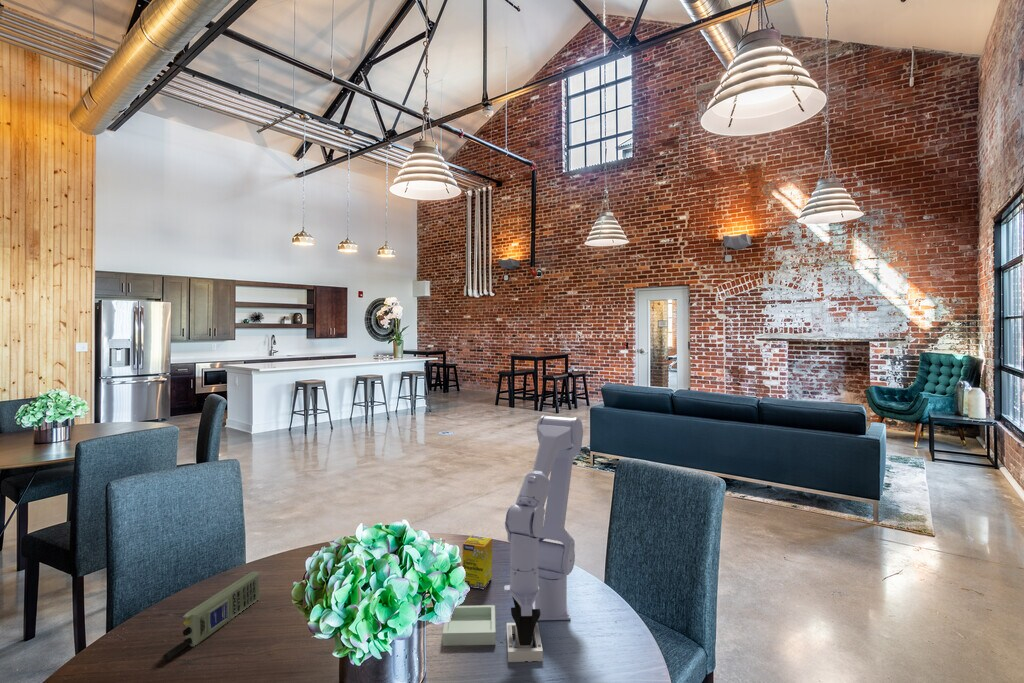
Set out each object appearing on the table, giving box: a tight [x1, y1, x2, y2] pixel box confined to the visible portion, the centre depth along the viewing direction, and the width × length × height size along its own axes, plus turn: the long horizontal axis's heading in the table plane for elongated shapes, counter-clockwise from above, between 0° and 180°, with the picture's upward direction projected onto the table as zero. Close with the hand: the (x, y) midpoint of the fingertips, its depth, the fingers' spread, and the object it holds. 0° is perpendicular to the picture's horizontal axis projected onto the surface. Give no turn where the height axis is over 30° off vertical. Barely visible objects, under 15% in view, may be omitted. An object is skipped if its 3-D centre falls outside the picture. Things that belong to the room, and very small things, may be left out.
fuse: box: [514, 624, 534, 648], centre depth 102 cm, size 4×4×7 cm
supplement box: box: [461, 535, 493, 589], centre depth 129 cm, size 6×6×11 cm
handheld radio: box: [162, 571, 260, 662], centre depth 108 cm, size 7×3×25 cm
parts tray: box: [442, 604, 496, 647], centre depth 107 cm, size 11×11×2 cm
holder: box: [506, 621, 544, 663], centre depth 102 cm, size 10×7×2 cm, turn 3°
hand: (523, 633), depth 102 cm, fingers open, 7 cm apart
